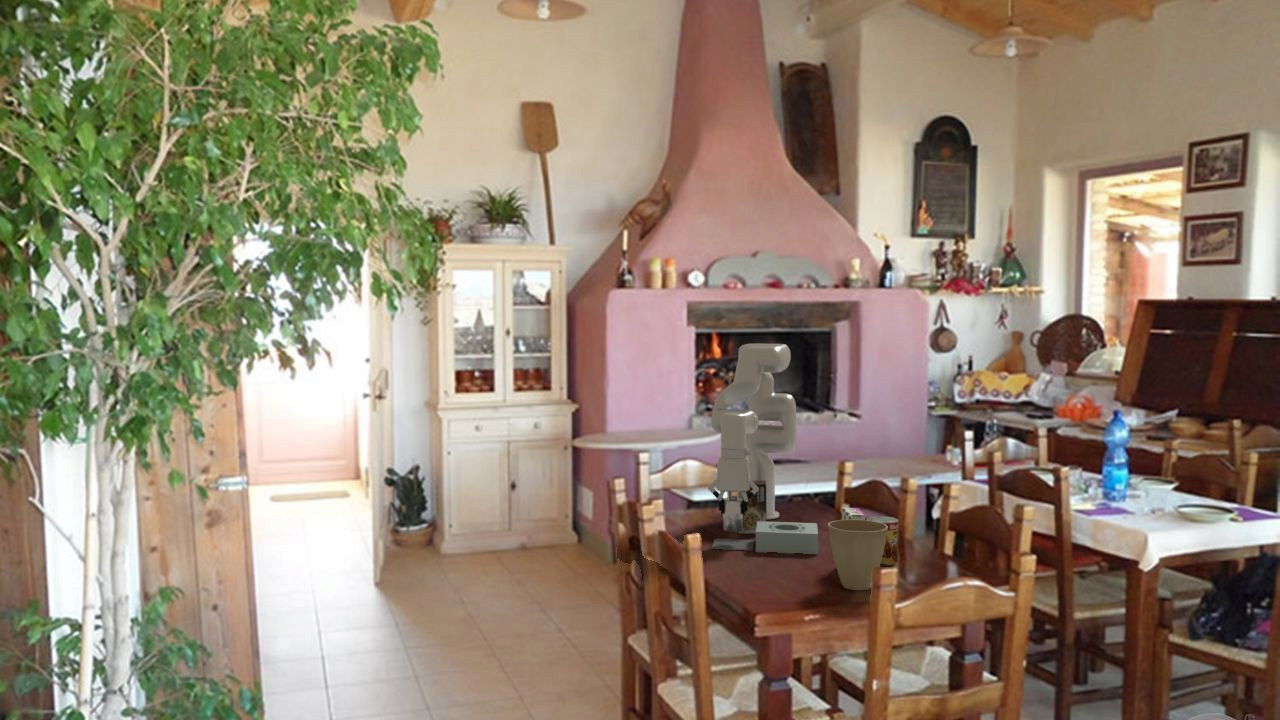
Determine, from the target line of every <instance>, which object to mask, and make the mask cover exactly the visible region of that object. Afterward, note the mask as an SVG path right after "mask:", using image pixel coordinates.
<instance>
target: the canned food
mask: <svg viewBox="0 0 1280 720" xmlns="http://www.w3.org/2000/svg"><path fill="white" fill-rule="evenodd" d="M869 521H875V522H880V523H883V524H885V525H887V526H888V530H887V536H886V542H885V547H884V552H883V556H882V560H881V564H887V565H886V566H893V565H896V564H898V562H899V519H897V518H896V517H892V516H882V515H881V516H877V515H876V516H872V517H870V518H869Z"/></svg>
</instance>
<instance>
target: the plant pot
mask: <svg viewBox="0 0 1280 720" xmlns="http://www.w3.org/2000/svg"><path fill="white" fill-rule="evenodd" d="M827 526H828V527H827V528H828V534H829V541H830V547H831V551H832V555H833V559H834V563H835V567H836V570H837V574H838V577H839V580H840V583H841V584H842V587H843V588H844V589H847V590H851V591H867V590H871V589H870V583H871V572H872V569H873V567H879V568H880V567H881V565H880V564H881V560H882V556H883V552H884V547H885V542H886V536H887V530H888V526H887V525H885V524H883V523H880V522H875V521H869V520H868V519H866V520H855V519H848V520H842V519H839V520H838V519H837V520H833V521H830V522H828V524H827Z"/></svg>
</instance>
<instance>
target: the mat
mask: <svg viewBox="0 0 1280 720" xmlns="http://www.w3.org/2000/svg"><path fill="white" fill-rule="evenodd" d="M753 543H754V544H755V540H754V539H737V538H735V539H733V538H714V540H713V543H712V546H711V550H712V549H722V550H721V551H736V550H744V552H745V551H746V552H753V550H754V549H753V548H754V544H753Z"/></svg>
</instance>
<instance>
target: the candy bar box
mask: <svg viewBox="0 0 1280 720" xmlns="http://www.w3.org/2000/svg"><path fill="white" fill-rule="evenodd" d="M867 518H868V515H866V514H865V513H864V512H863V511H862V510H861V509H860V508H859V507H841V520H848V519H855V520H868V519H867Z"/></svg>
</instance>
